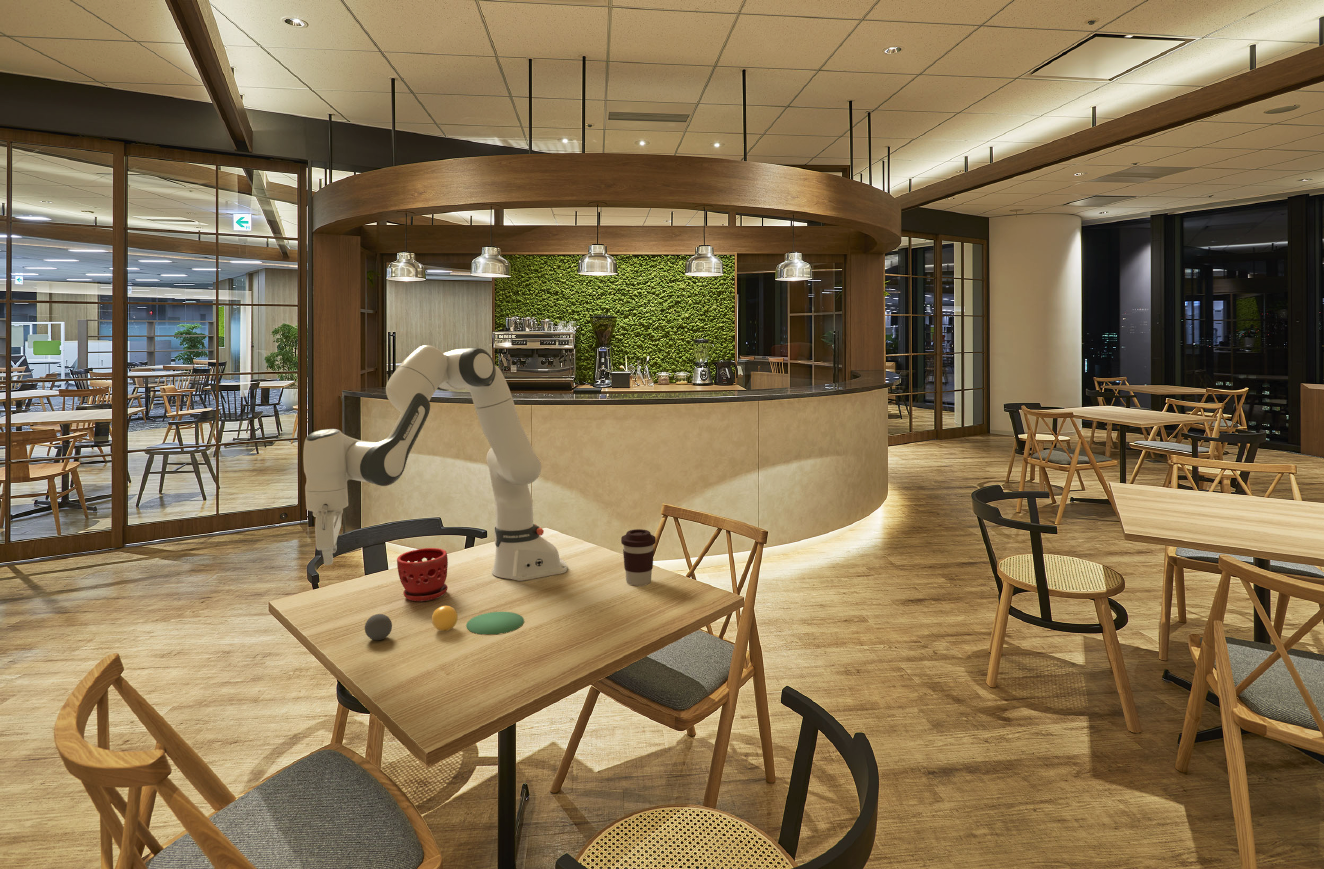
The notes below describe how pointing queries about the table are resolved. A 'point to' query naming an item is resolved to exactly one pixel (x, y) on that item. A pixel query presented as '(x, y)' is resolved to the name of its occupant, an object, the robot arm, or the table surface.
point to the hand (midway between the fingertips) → (330, 558)
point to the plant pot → (423, 573)
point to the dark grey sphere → (378, 627)
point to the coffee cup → (638, 556)
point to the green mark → (495, 623)
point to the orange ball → (444, 618)
